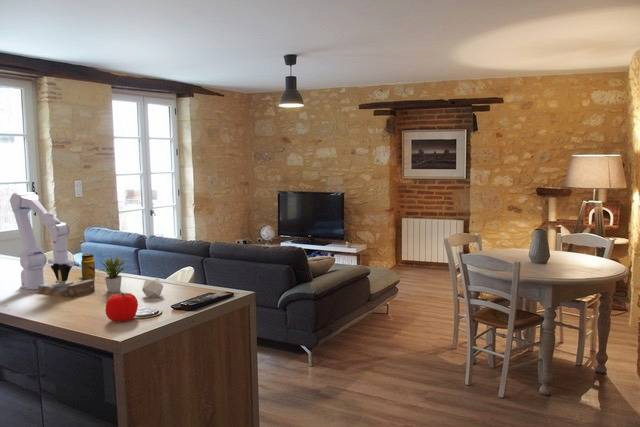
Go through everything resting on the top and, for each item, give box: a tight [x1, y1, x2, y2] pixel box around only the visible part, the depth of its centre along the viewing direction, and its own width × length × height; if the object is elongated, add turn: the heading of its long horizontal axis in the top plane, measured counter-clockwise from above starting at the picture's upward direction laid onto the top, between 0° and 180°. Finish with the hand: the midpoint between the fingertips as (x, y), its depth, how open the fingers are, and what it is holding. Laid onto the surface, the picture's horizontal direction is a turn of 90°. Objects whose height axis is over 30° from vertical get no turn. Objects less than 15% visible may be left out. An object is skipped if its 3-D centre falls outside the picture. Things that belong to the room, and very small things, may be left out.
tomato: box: [105, 292, 139, 323], centre depth 193 cm, size 12×12×10 cm
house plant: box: [97, 254, 129, 293], centre depth 234 cm, size 14×14×16 cm
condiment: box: [76, 253, 98, 282], centre depth 260 cm, size 7×8×12 cm
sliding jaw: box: [51, 270, 74, 288], centre depth 236 cm, size 5×7×8 cm
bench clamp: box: [36, 279, 96, 298], centre depth 235 cm, size 22×12×5 cm, turn 65°
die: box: [141, 277, 164, 299], centre depth 226 cm, size 8×9×10 cm
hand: (62, 280), depth 236 cm, fingers closed on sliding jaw, 3 cm apart
